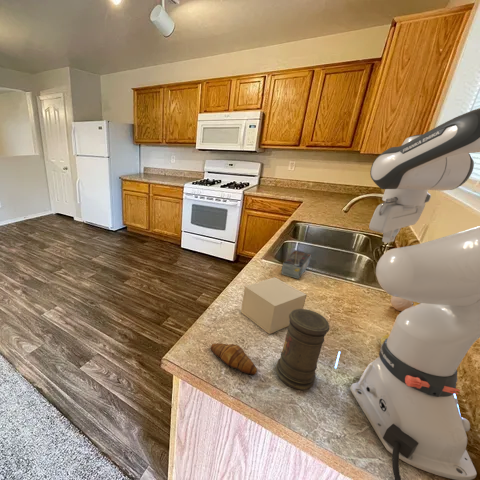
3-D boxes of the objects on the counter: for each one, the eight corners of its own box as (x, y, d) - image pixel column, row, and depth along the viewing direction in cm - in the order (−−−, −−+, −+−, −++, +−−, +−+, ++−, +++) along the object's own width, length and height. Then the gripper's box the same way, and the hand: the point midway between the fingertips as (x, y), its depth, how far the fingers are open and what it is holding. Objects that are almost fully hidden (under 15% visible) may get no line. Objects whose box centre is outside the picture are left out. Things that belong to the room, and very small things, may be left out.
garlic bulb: (415, 313, 94) (423, 294, 91) (400, 315, 93) (409, 296, 90) (396, 302, 100) (403, 284, 97) (382, 304, 99) (389, 286, 96)
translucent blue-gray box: (279, 274, 120) (282, 261, 118) (292, 260, 134) (294, 248, 132) (298, 279, 116) (301, 266, 113) (309, 265, 129) (312, 253, 127)
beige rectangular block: (270, 301, 100) (274, 277, 96) (299, 321, 89) (306, 294, 86) (240, 312, 94) (244, 286, 90) (269, 334, 83) (275, 306, 79)
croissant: (261, 368, 71) (264, 353, 69) (250, 384, 66) (253, 369, 64) (217, 343, 79) (218, 329, 77) (204, 355, 75) (206, 341, 73)
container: (317, 374, 69) (335, 318, 63) (308, 397, 63) (326, 337, 56) (282, 356, 75) (295, 302, 68) (270, 376, 68) (283, 319, 62)
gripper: (398, 201, 67) (381, 251, 72) (434, 195, 76) (416, 240, 81) (370, 197, 73) (356, 243, 78) (407, 191, 81) (392, 233, 86)
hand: (387, 241), depth 79 cm, fingers closed
